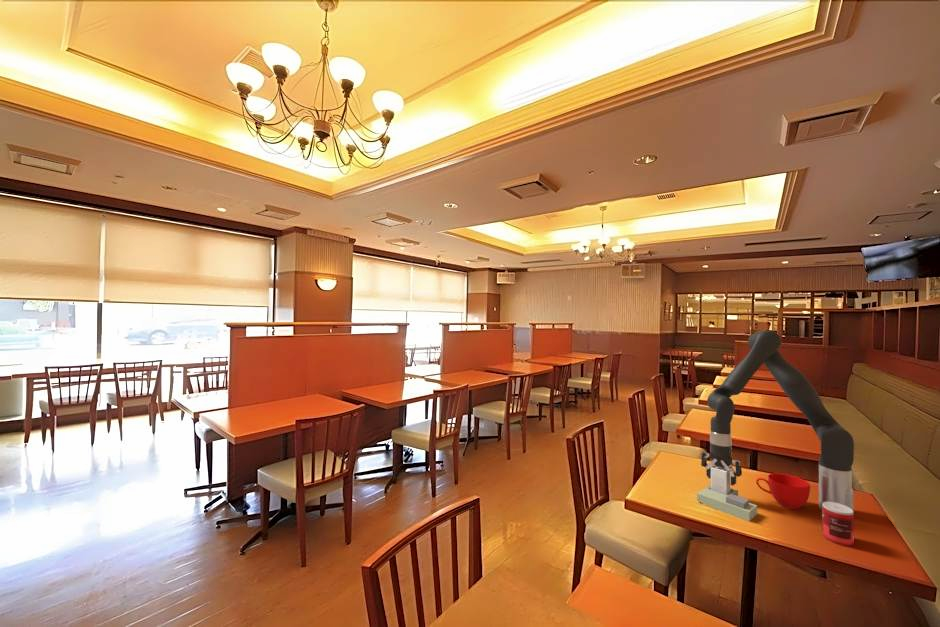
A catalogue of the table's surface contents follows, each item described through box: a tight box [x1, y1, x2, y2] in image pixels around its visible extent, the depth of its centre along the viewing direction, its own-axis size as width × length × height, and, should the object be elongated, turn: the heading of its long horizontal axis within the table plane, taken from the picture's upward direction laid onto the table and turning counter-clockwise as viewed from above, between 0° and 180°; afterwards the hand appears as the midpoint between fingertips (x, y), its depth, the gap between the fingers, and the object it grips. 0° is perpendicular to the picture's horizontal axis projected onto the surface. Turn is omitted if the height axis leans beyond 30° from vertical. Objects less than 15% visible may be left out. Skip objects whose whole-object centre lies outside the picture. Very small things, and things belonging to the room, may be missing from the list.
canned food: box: [821, 502, 855, 547], centre depth 130 cm, size 8×8×11 cm
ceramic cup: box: [755, 472, 811, 510], centre depth 154 cm, size 13×17×10 cm
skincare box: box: [710, 465, 731, 495], centre depth 160 cm, size 6×4×12 cm
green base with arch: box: [696, 484, 758, 522], centre depth 154 cm, size 18×18×6 cm
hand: (721, 481), depth 159 cm, fingers open, 8 cm apart
